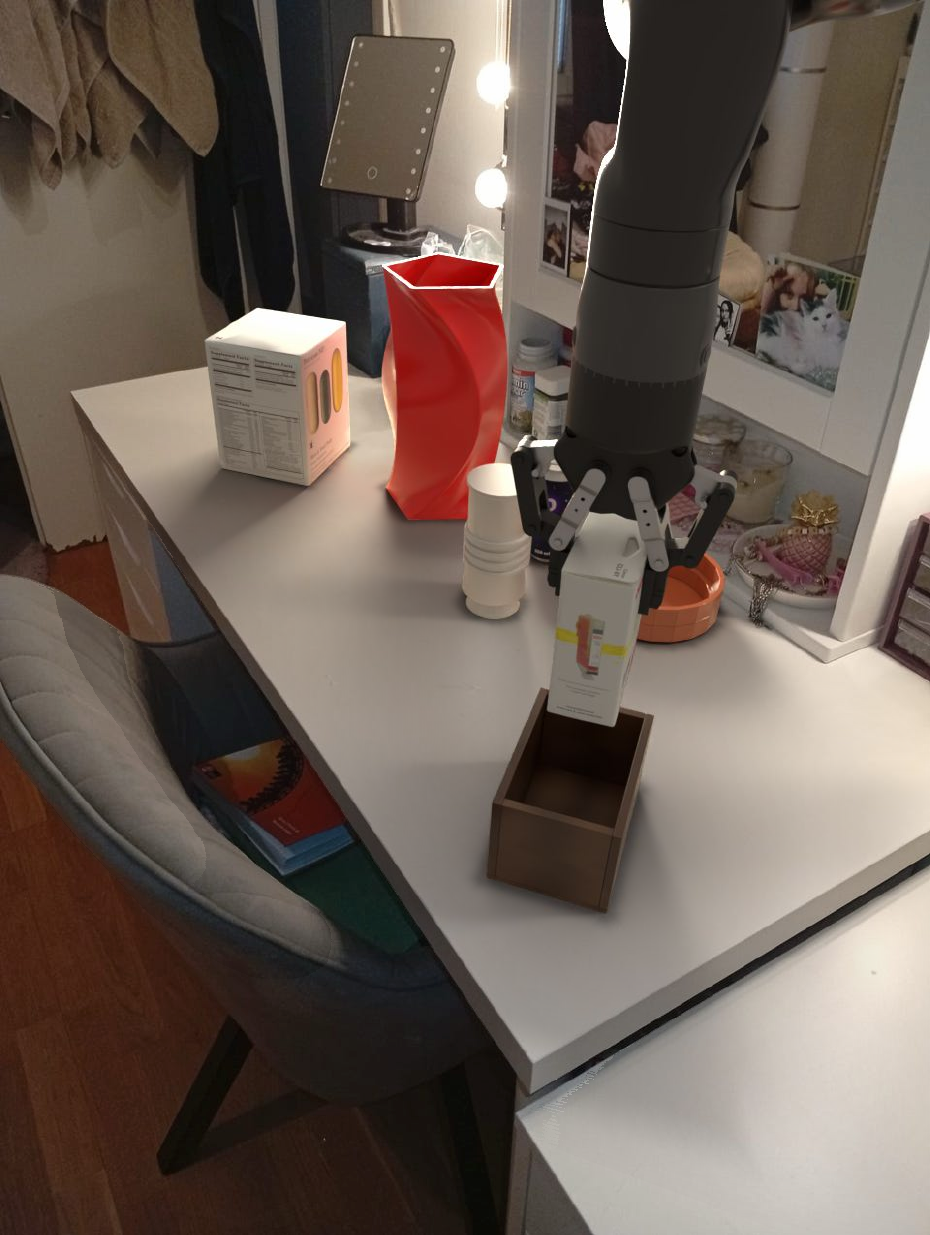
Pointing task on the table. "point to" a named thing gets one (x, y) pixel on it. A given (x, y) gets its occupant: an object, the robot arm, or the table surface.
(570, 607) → the ink box
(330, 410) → the supplement box
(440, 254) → the vase
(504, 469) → the white ribbed cup
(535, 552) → the beverage can
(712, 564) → the bowl
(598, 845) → the holder
